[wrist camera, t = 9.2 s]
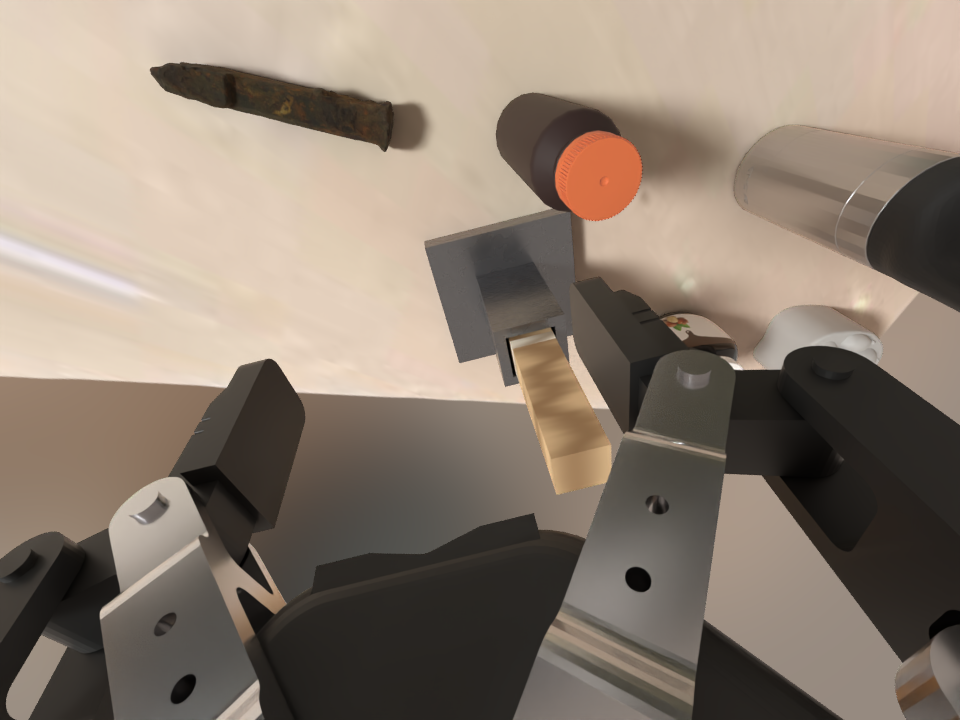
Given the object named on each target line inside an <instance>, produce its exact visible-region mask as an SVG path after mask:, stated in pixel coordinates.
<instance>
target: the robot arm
mask: <svg viewBox="0 0 960 720" xmlns="http://www.w3.org/2000/svg"><path fill="white" fill-rule="evenodd" d="M734 193H735V198H736V200H737V202H738V204H739V205H740V206H741V207H742V209H744V210H746V211H748V212H750V213H752V214H754V215H757V216H759V217H761V218H763V219H765V220H767V221H769V222H771V223H774V224H776V225H778V226H780V227H782V228H784V229H787V230H789V231H791V232H793V233H795V234H798V235H800V236H802V237H804V238H806V239H808V240H811V241H813V242H815V243H817V244H819V245H822V246H824V247H826V248H828V249H830V250H832V251H835V252H837V253H839V254H841V255H843V256H846V257H848V258H850V259H853V260H855V261H857V262H859V263H861V264H863V265H866V266H868V267H870V268H872V269H874V270H877V271H879V272H881V273H883V274H885V275H888V276H890V277H892V278H894V279H895V280H897V281H899V282H901V283H902V284H904V285H906V286H908V287H910V288H912V289H915V290H917V291H919V292H921V293H923V294H925V295H927V296H929V297H931V298H933V299H935V300H937V301H939V302H941V303H943V304H945V305H947V306H949V307H951V308H953V309H955V310H956V311H958V312H960V154H959V153H953V152H947V151H942V150H936V149H929V148H924V147H918V146H912V145H907V144H901V143H895V142H890V141H884V140H878V139H873V138H867V137H862V136H856V135H850V134H845V133H839V132H833V131H829V130H823V129H818V128H812V127H806V126H801V125H787V126H783V127H780V128H777V129H775V130H773V131H771V132H769V133H768V134H767V135H765V136H764V137H762V138H761V139H760V140H759V141H758V142H757V143H756V144H754V146H753V147H752V148H751V149H750V150H749V152H748V153H747V154H746V156H745V157H744V159H743V161H742V162H741V164H740V166H739V169H738V171H737V174H736V178H735V183H734ZM569 293H570V305H571V317H572V329H573V337H574V342H575V346H576V349H577V352H578V354H579V356H580V358H581V359H582V361H583V363H584V365H585V366H586V368H587V370H588V372H589V374H590V375H591V377H592V379H593V381H594V382H595V384H596V386H597V388H598V389H599V391H600V393H601V395H602V396H603V398H604V400H605V402H606V404H607V405H608V407H609V409H610V411H611V412H612V414H613V416H614V418H615V419H616V421H617V423H618V425H619V426H620V428H621V430H622V432H623V433H624V436H623V438H622V441H621V443H620V446H619V449H618V452H617V455H616V457H615V460H614V463H613V466H612V468H611V471H610V474H609V476H608V479H607V482H606V485H605V488H604V490H603V493H602V496H601V499H600V501H599V504H598V507H597V510H596V512H595V515H594V518H593V521H592V523H591V526H590V529H589V532H588V534H587V537H586V539H585V538H582V537H579V536H577V535H573V534H569V533H566V532H560V531H553V530H538V527H537V523H536V520H535V516H534V513H533V514H529V515H525V516H520V517H516V518H512V519H508V520H504V521H500V522H496V523H492V524H487V525H483V526H480V527H478V528H476V529H474V530H472V531H470V532H468V533H466V534H464V535H462V536H460V537H458V538H456V539H454V540H452V541H450V542H448V543H447V544H445V545H443V546H441V547H439V548H437V549H435V550H433V551H431V552H429V553H425V554H379V553H369V554H364V555H360V556H357V557H352V558H348V559H344V560H340V561H336V562H332V563H328V564H324V565H319V566H317V567H316V572H315V577H314V583H313V587H311V588H309V589H307V590H306V591H304V592H303V593H301V594H300V595H298V596H297V597H295V598H294V599H293V600H291V601H290V602H289V603H288V604H286V602H285V601H284V599H283V597H282V596H281V594H280V592H279V590H278V589H277V587H276V585H275V583H274V582H273V580H272V578H271V576H270V574H269V573H268V571H267V569H266V567H265V566H264V564H263V562H262V560H261V558H260V557H259V555H258V553H257V551H256V550H255V549H254V548H253V546H251V545H250V544H249V541H250V538H251V536H252V533H256V532H260V531H264V530H268V529H272V528H274V527H275V524H276V521H277V517H278V514H279V510H280V507H281V503H282V500H283V496H284V493H285V489H286V486H287V482H288V479H289V475H290V472H291V469H292V465H293V461H294V458H295V455H296V451H297V447H298V444H299V441H300V437H301V433H302V430H303V427H304V423H305V411H304V407H303V404H302V402H301V400H300V398H299V397H298V395H297V393H296V392H295V390H294V389H293V387H292V386H291V384H290V382H289V381H288V379H287V378H286V376H285V375H284V373H283V372H282V370H281V368H280V367H279V365H278V364H277V363H276V362H275V361H274V360H272V359H265V360H261V361H257V362H253V363H249V364H245V365H242V366H240V367H239V368H238V369H237V371H236V373H235V374H234V376H233V378H232V380H231V382H230V383H229V385H228V387H227V388H226V389H225V390H224V391H223V392H222V393H221V394H220V395H219V396H218V397H217V398H216V399H215V400H214V401H213V402H212V403H211V404H210V405H209V407H208V409H207V410H206V412H205V414H204V416H203V417H202V422H200V423H199V424H198V426H197V428H196V429H195V431H194V433H195V435H192V436H191V438H190V440H189V442H188V443H187V445H186V447H185V449H184V450H183V452H182V454H181V456H180V457H179V459H178V461H177V463H176V464H175V466H174V468H173V469H172V471H171V473H170V475H169V476H168V477H167V478H164V479H160V480H158V481H155V482H153V483H151V484H149V485H147V486H145V487H144V488H142V489H141V490H139V491H138V492H136V493H135V494H134V495H133V496H131V497H130V498H129V499H128V500H127V501H126V502H125V503H124V504H123V505H122V506H121V507H120V508H119V510H118V511H117V512H116V513H115V515H114V517H113V518H112V520H111V522H110V525H109V528H107V529H105V530H103V531H101V532H99V533H97V534H95V535H93V536H91V537H89V538H87V539H85V540H83V541H81V542H79V543H77V544H76V543H75V542H73V541H71V540H70V539H69V538H67V537H65V536H64V535H62V534H61V533H59V532H48V533H44V534H41V535H38V536H36V537H34V538H31V539H29V540H28V541H26V542H24V543H22V544H21V545H19V546H17V547H16V548H14V549H13V550H12V551H10V552H9V553H8V554H6V555H5V556H4V557H3V558H1V559H0V720H15V719H13V718H12V717H10V716H9V714H8V713H7V709H6V697H7V693H8V691H9V688H10V686H11V685H12V683H13V681H14V679H15V678H16V676H17V674H18V672H19V671H20V669H21V668H22V666H23V664H24V663H25V661H26V659H27V657H28V656H29V654H30V652H31V651H32V649H33V647H34V646H35V644H36V642H37V641H38V639H39V637H40V636H41V635H43V636H45V637H47V638H49V639H52V640H54V641H56V642H58V643H61V644H63V645H65V646H67V649H66V651H65V653H64V655H63V656H62V658H61V660H60V662H59V664H58V666H57V668H56V670H55V671H54V673H53V675H52V677H51V679H50V681H49V683H48V684H47V686H46V688H45V690H44V692H43V694H42V696H41V698H40V699H39V701H38V703H37V705H36V707H35V709H34V711H33V712H32V714H31V716H30V718H29V720H843V719H842V718H840V717H839V716H838V715H836V714H835V713H833V712H832V711H831V710H829V709H828V708H827V707H825V706H824V705H823V704H821V703H820V702H818V701H817V700H815V699H814V698H813V697H811V696H810V695H809V694H807V693H806V692H804V691H803V690H802V689H800V688H799V687H797V686H796V685H795V684H793V683H792V682H790V681H789V680H787V679H786V678H785V677H783V676H782V675H781V674H779V673H778V672H776V671H775V670H774V669H772V668H771V667H770V666H768V665H767V664H765V663H764V662H762V661H761V660H760V659H758V658H757V657H756V656H754V655H753V654H751V653H750V652H749V651H747V650H746V649H744V648H743V647H742V646H740V645H739V644H737V643H736V642H735V641H733V640H732V639H730V638H729V637H728V636H726V635H725V634H723V633H722V632H721V631H719V630H718V629H716V628H715V627H714V626H712V625H711V624H710V623H708V622H707V621H705V620H704V612H705V605H706V599H707V592H708V584H709V578H710V571H711V563H712V556H713V549H714V542H715V534H716V528H717V521H718V514H719V506H720V500H721V493H722V485H723V478H724V474H747V475H762V476H763V477H764V479H765V480H766V482H767V483H768V484H769V486H770V487H771V488H772V490H773V491H774V492H775V494H776V495H777V496H778V498H779V499H780V500H781V502H782V503H783V504H784V506H785V507H786V508H787V510H788V511H789V512H790V514H791V515H792V516H793V518H794V519H795V520H796V522H797V523H798V524H799V526H800V527H801V528H802V530H803V531H804V532H805V534H806V535H807V536H808V537H809V539H810V540H811V541H812V543H813V544H814V546H815V547H816V548H817V550H818V551H819V552H820V554H821V555H822V556H823V558H824V559H825V560H826V562H827V563H828V564H829V566H830V567H831V568H832V570H834V572H835V574H836V575H837V576H838V577H839V579H840V580H841V582H842V583H843V584H844V585H845V587H846V588H847V589H848V591H849V592H850V593H851V595H852V596H853V597H854V599H855V600H856V601H857V603H858V604H859V605H860V607H861V608H862V609H863V611H864V612H865V613H866V615H867V616H868V617H869V619H870V620H871V621H872V623H873V624H874V625H875V627H876V628H877V629H878V631H879V632H880V633H881V635H882V636H883V637H884V639H885V640H886V641H887V643H888V644H889V645H890V646H891V648H892V649H893V651H894V652H895V653H896V655H897V656H898V657H899V658H900V660H901V661H902V664H901V665H900V666H899V668H898V671H897V673H896V677H895V692H896V695H897V700H898V703H899V705H900V708H901V710H902V713H903V714H904V716H905V718H906V720H960V425H959V424H957V423H956V422H955V421H953V420H952V419H950V418H949V417H948V416H946V415H945V414H944V413H942V412H941V411H939V410H938V409H937V408H935V407H934V406H933V405H931V404H930V403H928V402H927V401H925V400H924V399H923V398H922V397H920V396H919V395H917V394H916V393H915V392H913V391H912V390H911V389H909V388H908V387H906V386H905V385H904V384H902V383H901V382H899V381H898V380H897V379H895V378H894V377H893V376H891V375H890V374H888V373H887V372H886V371H884V370H883V369H881V368H880V367H879V366H877V365H876V364H875V363H873V362H872V361H870V360H869V359H867V358H866V357H864V356H862V355H860V354H857V353H855V352H852V351H849V350H845V349H842V348H837V347H830V346H807V347H802V348H798V349H796V350H793V351H792V352H790V353H789V354H788V355H787V356H786V357H785V359H784V362H783V365H782V369H778V370H734V369H733V367H732V366H731V365H730V364H729V363H728V362H727V361H726V360H724V359H723V358H721V357H719V356H717V355H715V354H712V353H709V352H705V351H700V350H690V349H689V348H688V347H687V346H686V345H685V344H684V343H683V341H682V340H681V339H680V338H679V337H678V336H677V335H676V334H675V333H674V332H673V331H672V330H671V329H670V328H669V327H668V326H667V325H666V324H665V323H664V322H663V321H662V320H660V319H659V316H658V315H657V314H656V313H655V312H654V311H653V310H652V311H651V308H650V307H649V306H648V305H647V304H646V303H645V302H644V301H643V300H642V299H641V298H640V297H639V296H636V295H634V294H632V293H629V292H627V291H625V290H621V291H617V292H613V291H612V290H611V289H610V288H609V287H608V285H607V284H606V283H605V282H604V281H603V280H602V278H600V277H595V278H591V279H587V280H583V281H579V282H575V283H571V284H570V288H569Z"/></svg>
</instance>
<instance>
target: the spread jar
mask: <svg viewBox="0 0 960 720" xmlns="http://www.w3.org/2000/svg"><path fill="white" fill-rule="evenodd" d="M659 319H660V320H662V321H663V322H664V323H665V324H666V325H667V326H668V327H669V328H670V329H671V330H672V331H673V332H674V333H675V334H676V335H677V336H678V337H679V338H680V339H681V340H682V341H683V343H684V344H685V345H686V346H687V347H688V348H689V349H690V350H700V351H705V352H709V353H712V354H715V355H717V356H719V357H721V358H723V359H724V360H726V361H727V362H728V363H729V364H730V365H731V366H732V367H733V369H734V370H744V369H743V368H742V367H741V366H740V365H739V364H738V363H737V357H738V351H737V346H736V344H735V342H734V341H733V340H732V338H731V337H730V336H729V335H728V334H727V333H725V332H724V331H723V330H722V329H721V328H720V327H719V326H717V325H716V324H715V323H714V322H712V321H711V320H709V319H707V318H705V317H702V316H699V315H696V314H691V313H685V312H674V313H669V314H666V315H663V316H661V317H659Z"/></svg>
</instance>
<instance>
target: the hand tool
mask: <svg viewBox="0 0 960 720" xmlns="http://www.w3.org/2000/svg"><path fill="white" fill-rule="evenodd" d="M150 72H151V75H152V76H153V77H154V78H155V79H156V81H157V82H158V83H159V84H160V86H161V87H162V88H163V89H164V90H165V91H168V92H170V93H173V94H176V95H179V96H182V97H184V98H187V99H192V100H197V101H200V102H202V103H205V104H208V105H211V106H213V107H218V108H230V109H233V110H236V111H240V112H245V113H250V114H254V115H258V116H263V117H266V118H269V119H273V120H278V121H281V122H284V123H288V124H292V125H297V126H301V127H305V128H309V129H313V130H317V131H321V132H325V133H329V134H333V135H337V136H342V137H346V138H350V139H354V140H360V141H364V142H369V143H373V144H376V145H378V146H379V147H380V148H381V149H382V150H383V151H384V152H386V151H387V148H388V146H389V142H390V139H391V133H392V127H393V115H394V113H393V109H392V105H391V102H389V101H387V102H384V103H381V104H377V103H375V102H374V101H372V100H368V101H366V102H365V101H361V100H359V99H355V98H351V97H349V96H346V95H339V94H337V93H335V92H333V91H330V92H328V91H326V90H324V89H322V88H315V89H313V88H306V87H303V86H298V85H294V84H289V83H284V82H280V81H275V80H272V79H268V78H264V77H259V76H255V75H251V74H246V73H242V72H237V71H234V70H231V69H227V68H222V67H214V66H209V65H201V64H190V63H184V62H181V63H180V64H177V63H176V64H174V63H168V64H165V65H163V66H161V67H151V69H150Z"/></svg>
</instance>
